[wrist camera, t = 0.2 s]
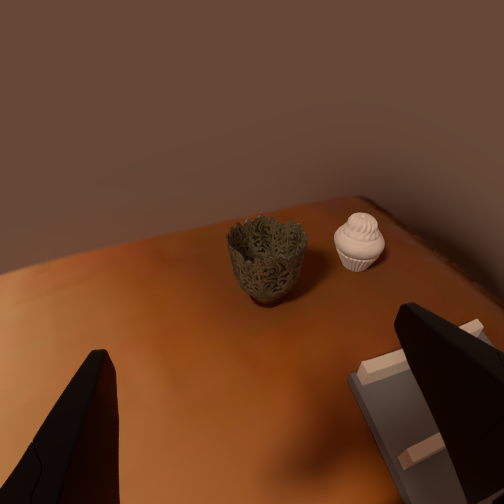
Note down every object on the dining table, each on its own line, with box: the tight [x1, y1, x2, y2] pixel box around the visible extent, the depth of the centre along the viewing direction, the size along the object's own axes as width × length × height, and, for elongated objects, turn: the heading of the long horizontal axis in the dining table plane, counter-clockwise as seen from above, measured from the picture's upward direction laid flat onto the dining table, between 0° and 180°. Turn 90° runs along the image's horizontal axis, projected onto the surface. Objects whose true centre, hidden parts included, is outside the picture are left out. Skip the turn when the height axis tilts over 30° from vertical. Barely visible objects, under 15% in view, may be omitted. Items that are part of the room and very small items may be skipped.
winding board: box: [347, 319, 504, 504], centre depth 17 cm, size 22×16×3 cm
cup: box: [226, 214, 307, 307], centre depth 32 cm, size 8×7×8 cm
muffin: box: [334, 212, 385, 272], centre depth 36 cm, size 6×6×7 cm
